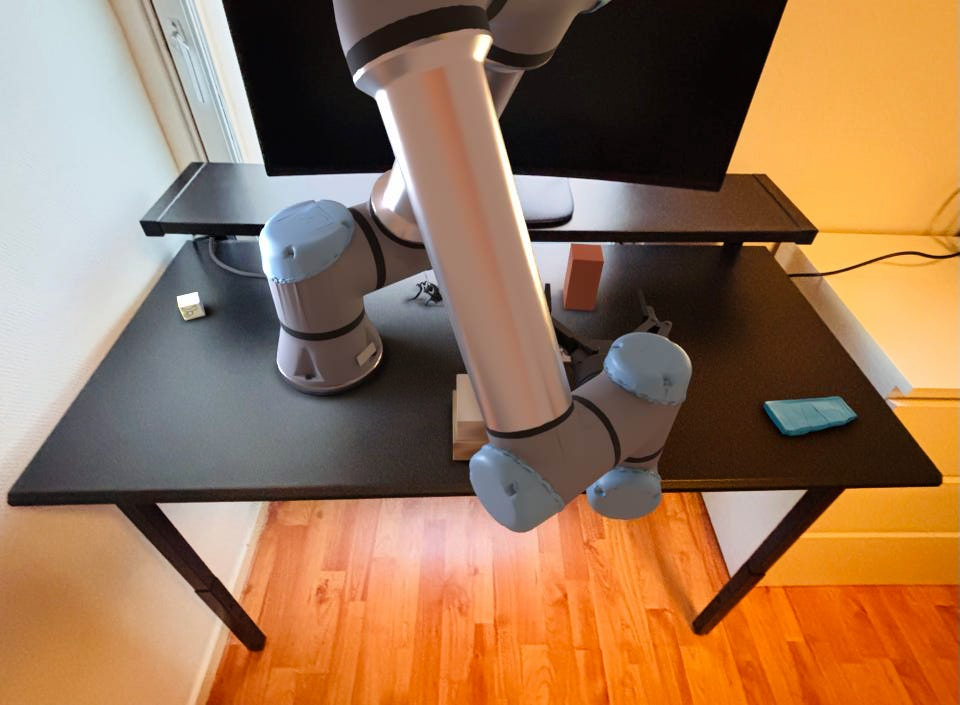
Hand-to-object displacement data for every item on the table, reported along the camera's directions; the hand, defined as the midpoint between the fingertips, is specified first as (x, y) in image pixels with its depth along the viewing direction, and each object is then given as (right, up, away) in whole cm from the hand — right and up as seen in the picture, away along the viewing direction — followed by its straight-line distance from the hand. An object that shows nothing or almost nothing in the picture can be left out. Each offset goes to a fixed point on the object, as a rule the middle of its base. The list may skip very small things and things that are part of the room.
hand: (591, 293), depth 81 cm
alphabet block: (-64, -3, +7) cm, 64 cm away
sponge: (+30, -18, -6) cm, 35 cm away
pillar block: (0, 0, +13) cm, 13 cm away
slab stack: (-16, -20, -9) cm, 27 cm away
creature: (-26, 0, +12) cm, 29 cm away
